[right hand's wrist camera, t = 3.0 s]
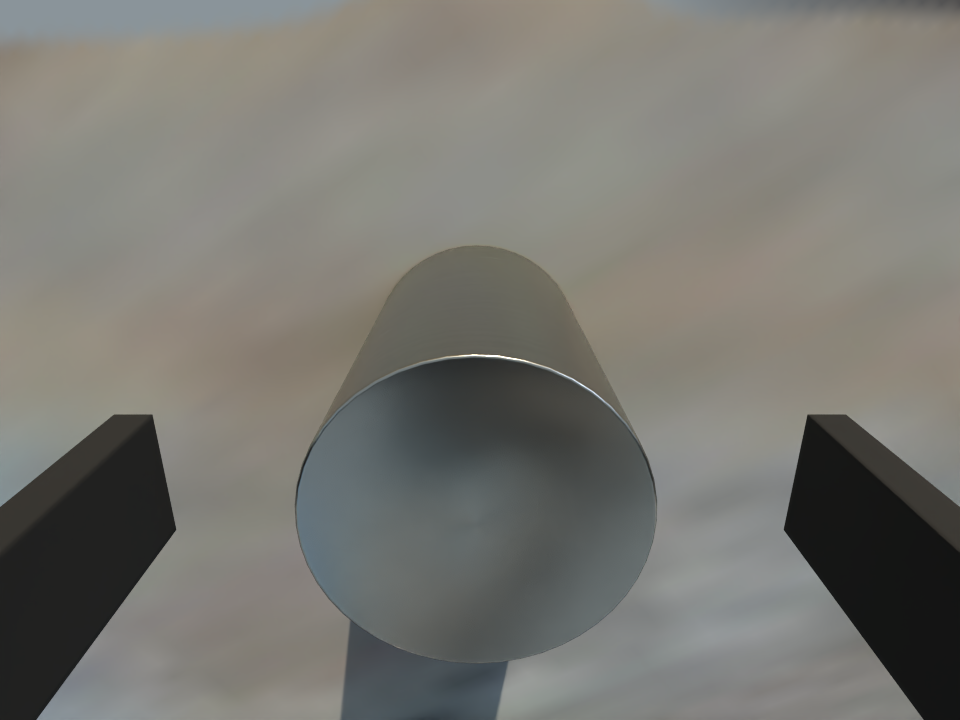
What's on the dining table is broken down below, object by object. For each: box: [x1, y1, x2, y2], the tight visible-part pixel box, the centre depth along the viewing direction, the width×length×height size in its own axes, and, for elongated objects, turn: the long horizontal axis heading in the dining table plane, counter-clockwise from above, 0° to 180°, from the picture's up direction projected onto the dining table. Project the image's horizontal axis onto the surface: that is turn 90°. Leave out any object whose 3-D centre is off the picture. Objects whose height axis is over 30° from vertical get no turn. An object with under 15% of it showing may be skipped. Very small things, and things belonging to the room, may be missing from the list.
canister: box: [295, 246, 657, 663], centre depth 17 cm, size 7×7×10 cm
